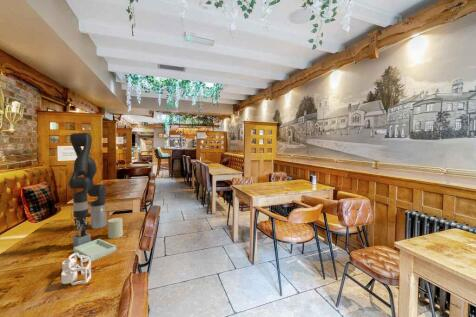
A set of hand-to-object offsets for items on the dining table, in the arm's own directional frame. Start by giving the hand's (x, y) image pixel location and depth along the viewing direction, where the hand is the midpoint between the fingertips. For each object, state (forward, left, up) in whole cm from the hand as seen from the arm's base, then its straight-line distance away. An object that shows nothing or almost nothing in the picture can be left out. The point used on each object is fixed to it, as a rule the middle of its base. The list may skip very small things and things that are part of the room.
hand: (81, 235), depth 132 cm
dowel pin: (0, 0, -6) cm, 6 cm away
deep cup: (0, 0, -7) cm, 7 cm away
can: (-19, +4, -7) cm, 21 cm away
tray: (0, +16, -7) cm, 17 cm away
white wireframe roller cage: (+16, +33, -7) cm, 37 cm away
